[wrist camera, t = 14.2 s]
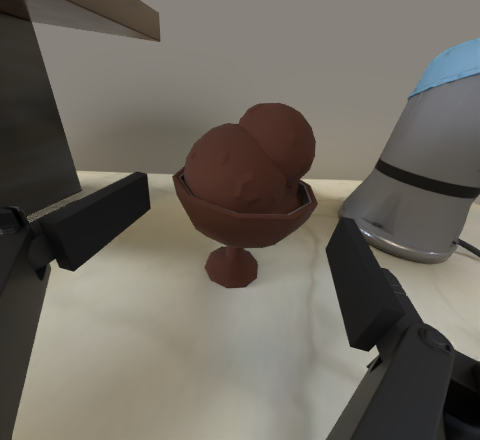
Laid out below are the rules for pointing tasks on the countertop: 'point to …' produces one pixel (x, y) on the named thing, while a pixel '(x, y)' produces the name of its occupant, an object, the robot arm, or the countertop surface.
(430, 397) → the robot arm
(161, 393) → the countertop surface
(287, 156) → the ice cream bowl
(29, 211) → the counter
